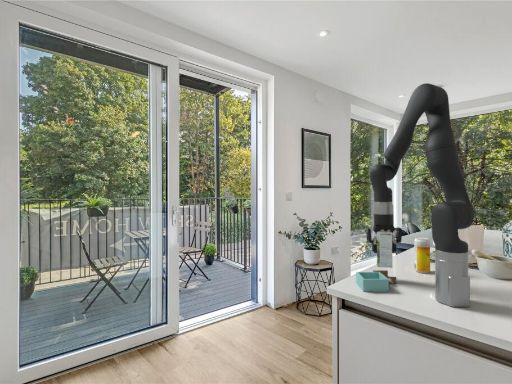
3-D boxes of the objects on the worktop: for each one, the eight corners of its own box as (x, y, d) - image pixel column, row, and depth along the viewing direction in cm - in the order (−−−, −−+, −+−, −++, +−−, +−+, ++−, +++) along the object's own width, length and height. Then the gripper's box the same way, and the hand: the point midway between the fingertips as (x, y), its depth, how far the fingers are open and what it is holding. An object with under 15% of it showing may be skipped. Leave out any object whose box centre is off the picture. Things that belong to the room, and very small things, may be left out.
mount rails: (399, 285, 112) (399, 279, 112) (383, 285, 112) (383, 279, 112) (387, 276, 124) (387, 270, 124) (373, 276, 125) (372, 270, 125)
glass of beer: (433, 273, 126) (432, 239, 126) (419, 274, 126) (418, 239, 126) (425, 269, 132) (425, 237, 132) (411, 269, 132) (411, 237, 132)
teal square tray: (388, 291, 107) (388, 279, 107) (363, 291, 107) (363, 279, 107) (379, 283, 116) (379, 271, 116) (356, 283, 116) (356, 272, 116)
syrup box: (376, 263, 123) (375, 229, 123) (391, 264, 121) (390, 230, 121) (377, 267, 118) (376, 231, 117) (393, 268, 116) (392, 231, 115)
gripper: (368, 213, 116) (369, 255, 116) (405, 213, 115) (406, 254, 115) (362, 212, 123) (363, 251, 123) (397, 211, 122) (398, 250, 123)
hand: (384, 252), depth 119 cm, fingers closed on syrup box, 6 cm apart
